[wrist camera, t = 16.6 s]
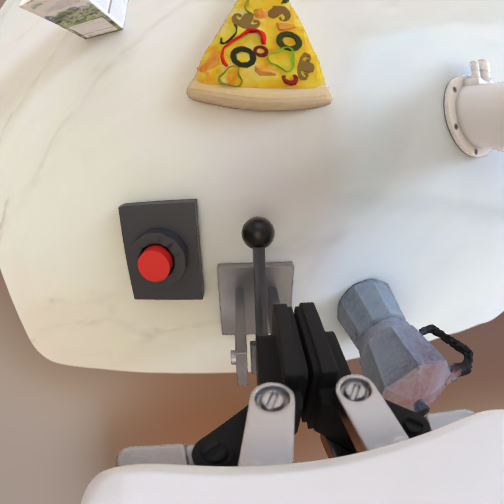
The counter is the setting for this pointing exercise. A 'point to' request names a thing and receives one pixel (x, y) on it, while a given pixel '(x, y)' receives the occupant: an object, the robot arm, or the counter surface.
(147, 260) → the button
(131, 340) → the counter surface
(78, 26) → the syrup box
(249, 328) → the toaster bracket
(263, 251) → the lever
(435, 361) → the moka pot
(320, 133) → the counter surface
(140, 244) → the control block
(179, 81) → the counter surface
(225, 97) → the pizza slice
